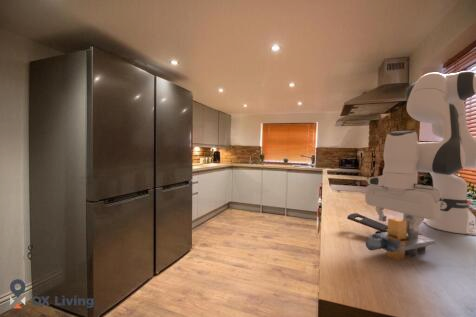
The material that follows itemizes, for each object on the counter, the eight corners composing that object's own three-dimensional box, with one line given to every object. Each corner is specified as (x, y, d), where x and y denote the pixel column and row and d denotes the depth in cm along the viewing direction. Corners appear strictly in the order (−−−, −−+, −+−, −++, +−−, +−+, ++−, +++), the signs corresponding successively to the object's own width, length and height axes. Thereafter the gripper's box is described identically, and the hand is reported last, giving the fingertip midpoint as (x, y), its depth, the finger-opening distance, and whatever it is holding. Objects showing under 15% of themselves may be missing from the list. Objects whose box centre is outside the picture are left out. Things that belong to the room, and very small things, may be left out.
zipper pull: (355, 212, 95) (429, 229, 75) (354, 226, 96) (428, 247, 76) (344, 216, 90) (421, 235, 70) (344, 231, 90) (420, 255, 70)
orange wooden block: (394, 254, 71) (396, 217, 71) (404, 258, 68) (406, 220, 68) (386, 255, 69) (388, 218, 69) (396, 260, 67) (398, 221, 66)
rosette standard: (400, 246, 78) (403, 196, 77) (434, 258, 68) (437, 202, 68) (354, 255, 69) (356, 199, 68) (386, 271, 60) (389, 206, 59)
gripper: (446, 186, 60) (444, 236, 60) (375, 178, 79) (373, 215, 79) (433, 187, 57) (430, 239, 58) (363, 178, 76) (361, 217, 77)
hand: (397, 225), depth 69 cm, fingers open, 8 cm apart
